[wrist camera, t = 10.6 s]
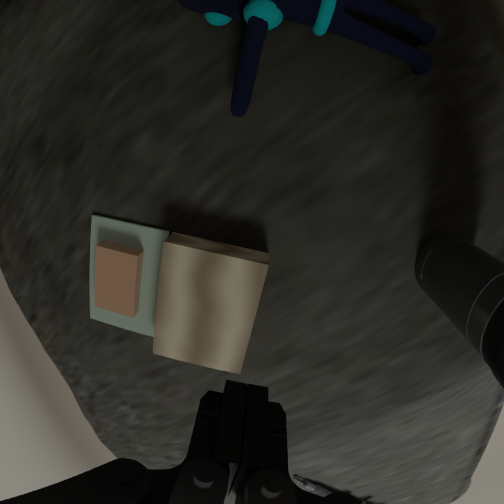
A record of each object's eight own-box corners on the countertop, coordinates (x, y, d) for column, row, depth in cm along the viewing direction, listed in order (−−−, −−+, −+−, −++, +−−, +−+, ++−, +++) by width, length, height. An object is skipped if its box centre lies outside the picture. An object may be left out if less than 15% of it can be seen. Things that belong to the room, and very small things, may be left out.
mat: (169, 231, 39) (168, 232, 39) (157, 336, 44) (156, 337, 44) (93, 214, 39) (92, 215, 39) (91, 316, 44) (90, 317, 44)
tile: (96, 245, 38) (103, 240, 40) (94, 306, 40) (101, 299, 43) (137, 256, 38) (144, 250, 40) (133, 318, 41) (138, 310, 43)
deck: (268, 253, 40) (268, 265, 36) (242, 356, 45) (239, 373, 41) (173, 232, 39) (163, 241, 36) (160, 337, 44) (152, 353, 41)
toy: (425, -27, 26) (217, -84, 24) (451, -48, 19) (210, -116, 17) (390, 164, 36) (151, 104, 34) (421, 171, 29) (125, 96, 27)
